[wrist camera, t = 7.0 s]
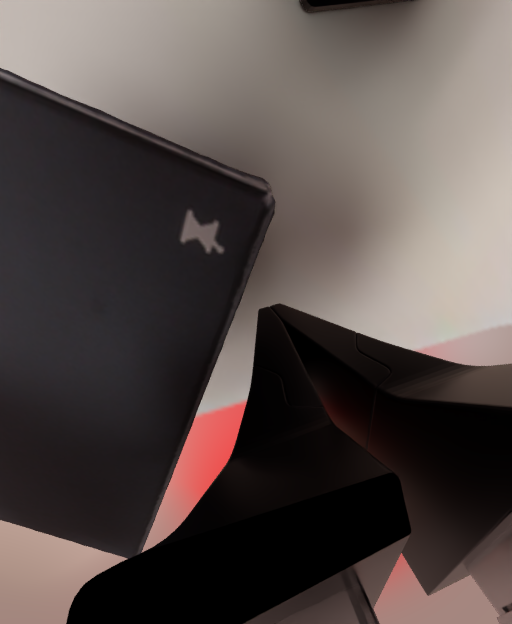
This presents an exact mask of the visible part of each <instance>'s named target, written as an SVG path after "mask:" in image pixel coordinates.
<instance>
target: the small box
mask: <svg viewBox="0 0 512 624" xmlns="http://www.w3.org/2000/svg"><path fill="white" fill-rule="evenodd" d="M274 208H275V200H274V198H273V195H272V190H271V187H270V185H269V183H268V182H267V181H265V180H264V179H263V178H260V177H257V176H254V175H250V174H247V173H244V172H242V171H239V170H236V169H234V168H231V167H228V166H226V165H224V164H222V163H219V162H217V161H215V160H213V159H211V158H209V157H206V156H203V155H200V154H198V153H196V152H193V151H191V150H189V149H187V148H184V147H182V146H180V145H178V144H175V143H173V142H171V141H168V140H166V139H164V138H162V137H159V136H157V135H155V134H153V133H151V132H148V131H146V130H143V129H141V128H139V127H136V126H134V125H131V124H129V123H127V122H124V121H122V120H120V119H118V118H116V117H114V116H111V115H109V114H107V113H105V112H103V111H101V110H98V109H96V108H93V107H91V106H88V105H85V104H83V103H80V102H78V101H75V100H72V99H70V98H68V97H65V96H63V95H60V94H58V93H56V92H54V91H52V90H50V89H47V88H45V87H43V86H41V85H39V84H36V83H33V82H31V81H29V80H27V79H25V78H22V77H20V76H18V75H16V74H14V73H12V72H10V71H8V70H4V69H1V68H0V520H2V521H6V522H10V523H13V524H16V525H20V526H23V527H26V528H30V529H33V530H35V531H39V532H42V533H46V534H49V535H52V536H55V537H59V538H62V539H66V540H69V541H73V542H76V543H79V544H81V545H84V546H88V547H92V548H96V549H98V550H101V551H104V552H108V553H112V554H115V555H119V556H122V557H125V558H128V559H129V558H131V557H133V556H136V555H138V554H140V553H141V552H142V550H143V547H144V545H145V542H146V540H147V537H148V535H149V532H150V530H151V527H152V525H153V522H154V520H155V517H156V515H157V512H158V510H159V507H160V505H161V502H162V499H163V497H164V494H165V491H166V489H167V487H168V485H169V482H170V480H171V478H172V475H173V472H174V469H175V467H176V464H177V461H178V459H179V456H180V454H181V451H182V449H183V446H184V444H185V441H186V439H187V436H188V434H189V431H190V429H191V427H192V423H193V421H194V418H195V415H196V412H197V410H198V407H199V405H200V402H201V400H202V397H203V395H204V392H205V390H206V387H207V385H208V382H209V380H210V377H211V374H212V372H213V369H214V367H215V364H216V362H217V359H218V356H219V354H220V352H221V350H222V347H223V344H224V340H225V338H226V335H227V333H228V330H229V328H230V325H231V323H232V321H233V318H234V315H235V312H236V310H237V308H238V306H239V303H240V301H241V298H242V295H243V292H244V289H245V287H246V284H247V281H248V279H249V276H250V273H251V271H252V268H253V266H254V263H255V260H256V258H257V255H258V253H259V250H260V247H261V245H262V243H263V241H264V237H265V234H266V231H267V229H268V227H269V225H270V222H271V220H272V217H273V215H274Z"/></svg>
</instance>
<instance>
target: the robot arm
mask: <svg viewBox="0 0 512 624" xmlns="http://www.w3.org/2000/svg"><path fill="white" fill-rule="evenodd" d="M403 1H412V0H301V3H302V5H303V7H304V8H305V9H306V10H307V11H310V12H315V11H323V10H332V9H341V8H350V7H359V6H368V5H376V4H385V3H394V2H403ZM401 553H402V554H403V556H404V558H405V559H406V561H407V563H408V564H409V566H410V568H411V569H412V571H413V573H414V574H415V576H416V578H417V579H418V581H419V583H420V584H421V586H422V587H423V589H424V591H425V592H426V594H427V595H428V596H429V595H431V594H433V593H435V592H437V591H439V590H441V589H443V588H445V587H447V586H449V585H451V584H453V583H455V582H457V581H459V580H461V579H463V578H465V577H467V576H469V575H471V576H472V578H473V579H474V580H475V582H476V583H477V585H478V586H479V587H480V589H481V590H482V592H483V593H484V594H485V596H486V597H487V599H488V600H489V601H490V603H491V604H492V606H493V607H494V608H495V610H496V611H497V613H498V614H499V615H500V616H499V617H497V619H498V622H499V624H512V364H506V365H505V364H504V365H495V366H471V365H462V364H458V363H454V362H450V361H446V360H443V359H439V358H436V357H433V356H429V355H426V354H422V353H419V352H416V351H412V350H409V349H405V348H402V347H399V346H395V345H392V344H389V343H386V342H383V341H380V340H377V339H374V338H371V337H368V336H366V335H363V334H360V333H356V332H355V331H352V330H349V329H347V328H344V327H341V326H339V325H336V324H334V323H331V322H328V321H326V320H323V319H320V318H318V317H315V316H312V315H310V314H307V313H304V312H302V311H299V310H296V309H294V308H291V307H288V306H286V305H283V304H275V305H272V306H270V307H265V308H262V309H259V311H258V321H257V332H256V342H255V353H254V363H253V372H252V380H251V387H250V391H249V396H248V400H247V404H246V407H245V411H244V415H243V418H242V422H241V425H240V429H239V433H238V436H237V440H236V443H235V446H234V449H233V452H232V454H231V456H230V459H229V460H228V462H227V464H226V465H225V467H224V468H223V469H222V471H221V472H220V474H219V475H218V476H217V478H216V479H215V480H214V481H213V483H212V484H211V485H210V487H209V488H208V489H207V491H206V492H205V494H204V495H203V496H202V497H201V499H200V500H199V502H198V503H197V504H196V506H195V507H194V508H193V510H192V511H191V512H190V514H189V515H188V517H187V518H186V519H185V520H184V521H183V522H182V524H181V525H180V526H179V527H178V528H177V529H176V530H175V531H174V532H173V533H171V534H170V535H169V536H168V537H167V538H166V539H164V540H163V541H161V542H160V543H158V544H157V545H155V546H154V547H152V548H150V549H148V550H146V551H144V552H142V553H140V554H138V555H136V556H133V557H131V558H129V559H127V560H125V561H122V562H120V563H119V564H117V565H115V566H113V567H111V568H109V569H107V570H106V571H104V572H102V573H100V574H98V575H96V576H95V577H94V578H92V579H91V580H90V581H88V582H87V583H85V584H84V585H83V587H82V588H81V589H80V590H79V592H78V593H77V595H76V596H75V598H74V600H73V602H72V605H71V607H70V610H69V614H68V618H67V623H66V624H380V623H379V621H378V619H377V616H376V614H375V612H374V610H373V608H374V606H375V604H376V602H377V600H378V598H379V596H380V594H381V592H382V590H383V588H384V586H385V584H386V582H387V580H388V578H389V576H390V574H391V572H392V570H393V568H394V566H395V564H396V562H397V560H398V558H399V556H400V554H401Z"/></svg>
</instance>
